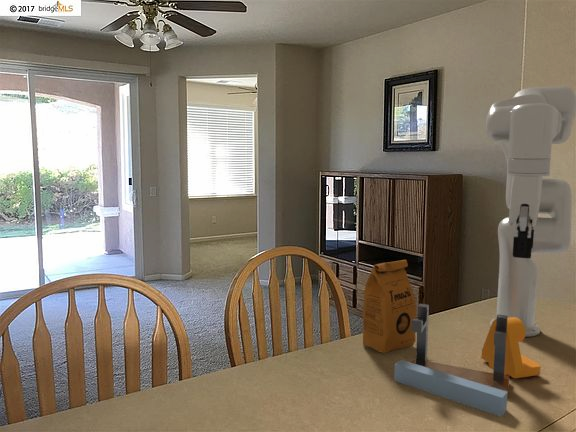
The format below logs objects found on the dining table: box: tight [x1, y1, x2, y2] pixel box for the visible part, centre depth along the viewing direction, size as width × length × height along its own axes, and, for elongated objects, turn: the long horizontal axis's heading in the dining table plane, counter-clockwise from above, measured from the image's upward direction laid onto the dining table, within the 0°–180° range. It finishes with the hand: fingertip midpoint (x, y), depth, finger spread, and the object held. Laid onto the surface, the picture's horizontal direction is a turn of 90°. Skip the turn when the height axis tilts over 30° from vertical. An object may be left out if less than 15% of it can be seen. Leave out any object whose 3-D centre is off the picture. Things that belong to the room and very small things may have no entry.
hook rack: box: [411, 303, 510, 399], centre depth 102 cm, size 8×20×15 cm, turn 63°
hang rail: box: [393, 359, 508, 417], centre depth 97 cm, size 3×22×4 cm, turn 49°
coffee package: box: [362, 259, 417, 354], centre depth 120 cm, size 10×12×22 cm
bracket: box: [480, 317, 542, 379], centre depth 108 cm, size 11×7×12 cm, turn 16°
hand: (523, 252), depth 97 cm, fingers open, 9 cm apart
